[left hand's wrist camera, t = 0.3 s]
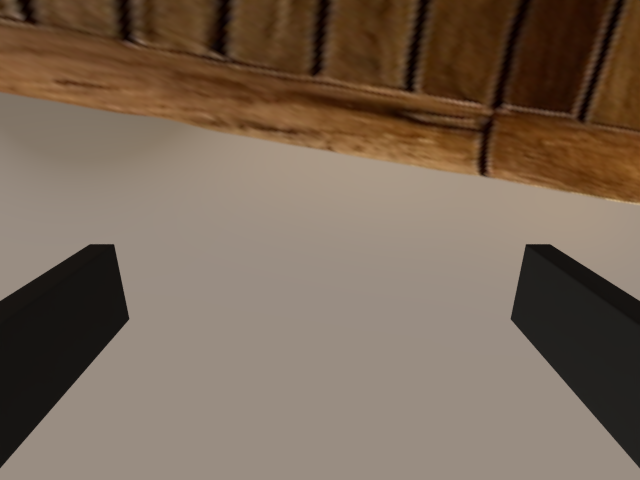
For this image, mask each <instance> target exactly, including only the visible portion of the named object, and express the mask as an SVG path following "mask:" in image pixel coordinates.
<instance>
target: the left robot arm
mask: <svg viewBox="0 0 640 480" xmlns="http://www.w3.org/2000/svg"><path fill="white" fill-rule="evenodd" d="M128 320H129V315H128V310H127V306H126V301H125V296H124V291H123V286H122V281H121V276H120V271H119V266H118V261H117V257H116V252H115V247H114V244H90V245H88V246H87V247H85V248H83V249H82V250H80V251H79V252H77V253H76V254H74V255H72V256H71V257H69V258H68V259H66V260H64V261H63V262H61V263H60V264H58V265H57V266H55V267H53V268H52V269H50V270H49V271H47V272H46V273H44V274H42V275H41V276H39V277H38V278H36V279H34V280H33V281H31V282H30V283H28V284H27V285H25V286H23V287H22V288H20V289H19V290H17V291H15V292H14V293H12V294H11V295H9V296H8V297H6V298H4V299H3V300H1V301H0V468H1V467H2V465H3V464H4V463H5V462H6V461H7V460H8V459H9V457H10V456H11V455H12V454H13V453H14V452H15V450H16V449H17V448H18V447H19V446H20V445H21V444H22V442H23V441H24V440H25V439H26V438H27V437H28V435H29V434H30V433H31V432H32V431H33V430H34V429H35V427H36V426H37V425H38V424H39V423H40V422H41V420H42V419H43V418H44V417H45V416H46V415H47V414H48V412H49V411H50V410H51V409H52V408H53V407H54V405H55V404H56V403H57V402H58V401H59V400H60V399H61V397H62V396H63V395H64V394H65V393H66V392H67V390H68V389H69V388H70V387H71V386H72V385H73V384H74V382H75V381H76V380H77V379H78V378H79V377H80V375H81V374H82V373H83V372H84V371H85V370H86V369H87V367H88V366H89V365H90V364H91V363H92V362H93V360H94V359H95V358H96V357H97V356H98V355H99V354H100V352H101V351H102V350H103V349H104V348H105V347H106V345H107V344H108V343H109V342H110V341H111V340H112V339H113V337H114V336H115V335H116V334H117V333H118V332H119V330H120V329H121V328H122V327H123V326H124V325H125V323H126V322H127V321H128ZM511 320H512V321H513V322H514V323H515V325H516V326H517V327H518V328H519V329H520V330H521V332H522V333H523V334H524V335H525V336H526V337H527V339H528V340H529V341H530V342H531V343H532V344H533V345H534V347H535V348H536V349H537V350H538V351H539V352H540V354H541V355H542V356H543V357H544V358H545V359H546V360H547V362H548V363H549V364H550V365H551V366H552V367H553V369H554V370H555V371H556V372H557V373H558V374H559V375H560V377H561V378H562V379H563V380H564V381H565V382H566V383H567V385H568V386H569V387H570V388H571V389H572V390H573V392H574V393H575V394H576V395H577V396H578V397H579V399H580V400H581V401H582V402H583V403H584V404H585V405H586V407H587V408H588V409H589V410H590V411H591V412H592V414H593V415H594V416H595V417H596V418H597V419H598V420H599V422H600V423H601V424H602V425H603V426H604V427H605V429H606V430H607V431H608V432H609V433H610V434H611V435H612V437H613V438H614V439H615V440H616V441H617V442H618V444H619V445H620V446H621V447H622V448H623V449H624V450H625V452H626V453H627V454H628V455H629V456H630V457H631V459H632V460H633V461H634V462H635V463H636V464H637V465H638V467H639V468H640V301H639V300H637V299H636V298H634V297H632V296H631V295H629V294H628V293H626V292H625V291H623V290H621V289H620V288H618V287H617V286H615V285H613V284H612V283H610V282H609V281H607V280H606V279H604V278H602V277H601V276H599V275H598V274H596V273H594V272H593V271H591V270H590V269H588V268H587V267H585V266H583V265H582V264H580V263H579V262H577V261H576V260H574V259H572V258H571V257H569V256H568V255H566V254H564V253H563V252H561V251H560V250H558V249H556V248H555V247H553V246H552V245H550V244H526V247H525V252H524V257H523V262H522V266H521V271H520V276H519V281H518V286H517V291H516V296H515V300H514V305H513V310H512V315H511Z"/></svg>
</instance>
